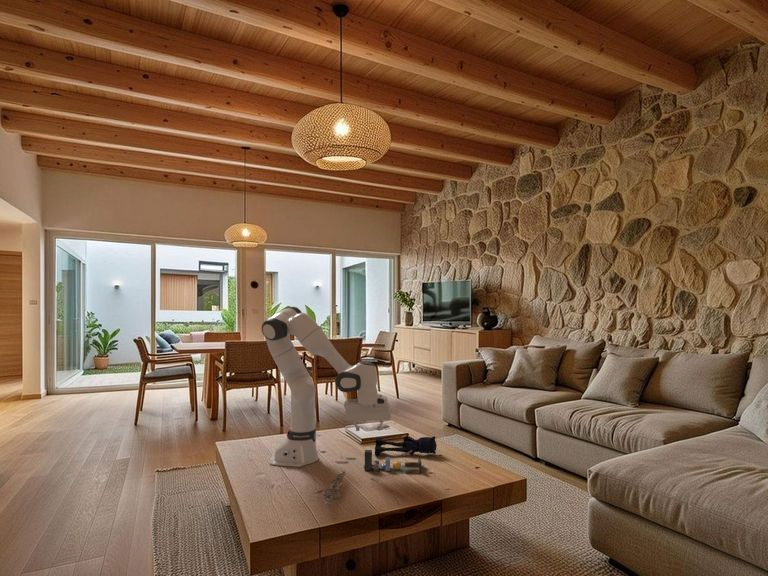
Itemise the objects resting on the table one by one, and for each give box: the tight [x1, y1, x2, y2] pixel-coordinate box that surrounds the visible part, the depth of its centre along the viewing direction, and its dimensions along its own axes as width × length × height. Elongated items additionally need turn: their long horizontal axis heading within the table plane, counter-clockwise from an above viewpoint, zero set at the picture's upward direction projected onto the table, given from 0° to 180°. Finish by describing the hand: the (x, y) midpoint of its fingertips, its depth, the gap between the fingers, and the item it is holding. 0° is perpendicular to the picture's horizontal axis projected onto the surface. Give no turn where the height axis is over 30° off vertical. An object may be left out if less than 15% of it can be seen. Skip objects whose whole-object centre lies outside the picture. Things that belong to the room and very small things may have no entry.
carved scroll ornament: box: [324, 470, 346, 506], centre depth 173 cm, size 5×30×4 cm, turn 174°
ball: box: [392, 460, 402, 470], centre depth 199 cm, size 4×4×4 cm
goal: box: [404, 453, 422, 473], centre depth 199 cm, size 7×9×5 cm
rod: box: [363, 449, 391, 472], centre depth 199 cm, size 12×5×8 cm, turn 88°
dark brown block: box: [373, 460, 380, 473], centre depth 199 cm, size 2×6×3 cm, turn 178°
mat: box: [391, 464, 426, 475], centre depth 199 cm, size 14×10×1 cm
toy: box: [374, 434, 437, 457], centre depth 218 cm, size 10×9×30 cm
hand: (368, 430), depth 200 cm, fingers open, 8 cm apart
